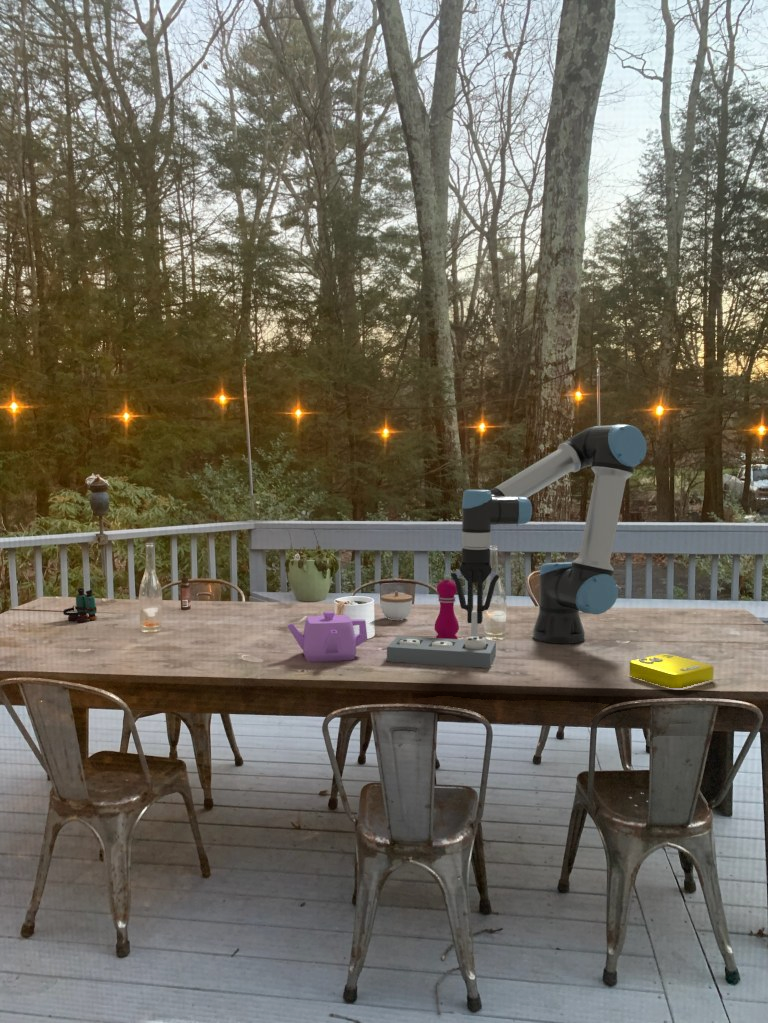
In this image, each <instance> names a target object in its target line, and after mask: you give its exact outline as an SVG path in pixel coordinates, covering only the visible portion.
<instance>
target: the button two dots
mask: <svg viewBox="0 0 768 1023" xmlns="http://www.w3.org/2000/svg"><path fill="white" fill-rule="evenodd" d="M400 645H415V646H419V645H420V641H419V640H417V639H402V640H400Z"/></svg>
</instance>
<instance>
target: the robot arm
mask: <svg viewBox="0 0 768 1023" xmlns="http://www.w3.org/2000/svg"><path fill="white" fill-rule="evenodd" d="M647 450H648V448H647V441H646V438H645V436H644V435H643V434H642V431H641V430H640V429H639V428H638V427H636V426H634V425H630V424H622V423H616V424H611V425H595V426H591V427H588V428H585V429H584V430H582V431H580V432H579V433H577V434H575V435H572V437H570V438H568V439H567V440H564V441H563V442H562V443H560V444H559V445H558V446H557V450H554V451H553V452H552V453H550V454H549V455H546V456H545V457H543V458H542V459H540V460H538V461H537V462H535V463H533V464H531V465H530V466H528V467H526V468H525V469H524V470H521V471H519V472H518V473H517V474H515V475H513V476H512V477H510V478H508V479H507V480H505V481H503V482H501V483H500V484H499V485H497V486H495V487H493V488H492V489H466V490H464V491H463V495H462V503H461V504H462V505H461V510H462V512H461V513H462V516H461V517H462V519H461V520H462V524H461V526H462V527H461V530H462V531H461V546H462V547H463V548H462V549H461V563H460V566H459V569H458V570H456V571H453V573H451V578H452V579H453V582H454V583H455V584H456V588H457V593H456V594H457V596H458V597H457V598H458V600H459V606H460V608H461V609H462V610H466V612H467V615H466V616H467V623H468V624H471V626H470V627H471V628H470V630H471V631H470V632H471V633H470V634H471V636H470V637H472V636H475V637H478V635H479V625H481V624H482V623H483V612H484V611H487V610H489V609H490V606H491V604H492V603H491V602H492V599H493V595H494V591H495V587H496V584H497V582H498V580H499V579H500V577H501V576H500V574H499V573H496V572H494V570H493V569H492V566H491V550H490V548H489V547H490V546H491V532H492V531H491V527H492V526H497V525H498V526H499V525H501V526H502V525H503V526H504V525H505V526H508V525H516V526H518V525H524V524H528V523H529V522H530V521H531V519H532V515H533V506H532V502H531V500H530V499H529V497H531V496H532V495H534V494H536V493H538V492H539V491H541V490H543V489H545V488H546V487H548V486H550V485H551V484H552V483H554V482H556V481H558V480H559V479H561V478H562V477H564V476H566V475H567V474H569V473H571V472H572V473H576V472H579V471H580V470H582V469H584V468H588V467H590V468H591V470H592V472H593V473H594V478H593V479H594V480H593V485H592V491H591V496H590V498H589V500H590V501H589V503H588V504H589V506H588V510H587V515H586V520H585V525H584V529H583V530H584V531H583V534H582V541H581V544H580V549H579V550H580V551H579V554H578V556H577V558H575V559H573V561H571V562H570V561H569V562H568V561H567V562H566V561H565V562H548V563H542V565H541V566H540V568H539V575H538V577H539V610H538V611H539V612H538V616H537V618H536V622H535V623H534V627H533V630H532V632H533V633H532V637H533V639H535V640H537V641H540V642H545V643H550V644H562V645H564V644H576V643H581V642H583V641H585V630H584V626H583V624H582V620H581V616H580V612H582V613H583V614H587V615H588V614H590V615H602V614H604V613H606V612H607V611H609V610H610V609H611V608H612V607H613V606H614V605H615V603H616V602H617V600H618V595H619V586H618V584H617V581H616V580H615V578H614V577H613V576H614V573H615V572H614V571H615V569H614V568H613V566H612V564H611V557H612V554H613V547H614V542H615V538H616V532H617V528H618V522H619V516H620V513H621V507H622V501H623V498H624V491H625V487H626V481H627V480H628V479H630V478H631V477H633V475H634V471H635V467H636V466H638V465H639V464H641V462H643V460H645V456H646V454H647ZM489 575H490V576H489ZM462 576H463V578H464V579H465V580H466V581H467V601H466V596H465V592H464V589H463V584H462ZM488 577H489V579H490V584H489V585H488V586H489V587H488V590H487V594H486V598H485V602H483V601H484V582H485V581H486V580H487V578H488ZM475 583H476V585H477V586H476V588H477V590H476V591H477V593H476V601H477V602H476V610H475V609H474V584H475Z"/></svg>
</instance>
